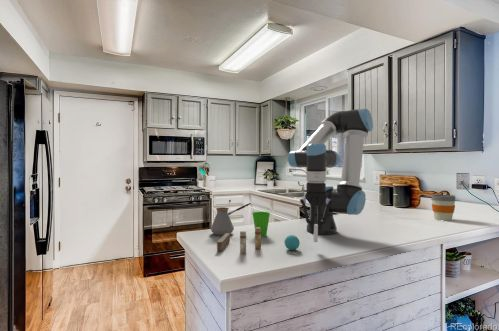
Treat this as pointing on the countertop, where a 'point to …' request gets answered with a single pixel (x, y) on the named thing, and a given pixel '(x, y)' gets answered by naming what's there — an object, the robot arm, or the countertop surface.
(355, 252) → the countertop surface
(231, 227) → the coffee pot
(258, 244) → the front pin
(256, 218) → the cup
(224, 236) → the bar
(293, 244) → the ball
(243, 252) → the side pin
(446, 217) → the reusable coffee cup
